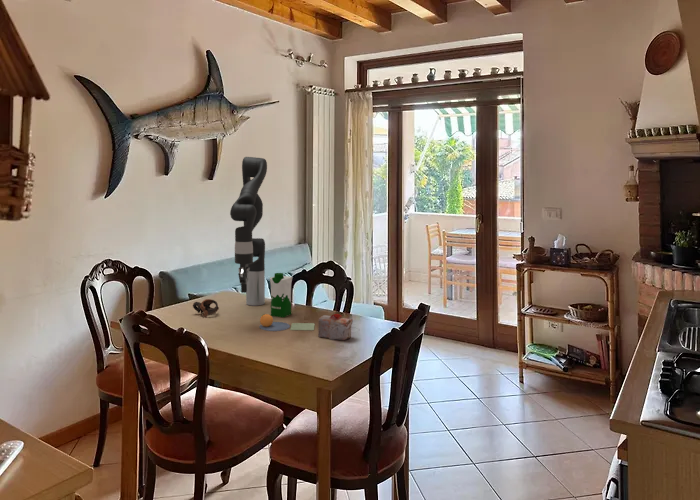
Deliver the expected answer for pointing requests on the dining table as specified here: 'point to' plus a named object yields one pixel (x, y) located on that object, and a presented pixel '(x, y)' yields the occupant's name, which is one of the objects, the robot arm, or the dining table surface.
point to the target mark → (276, 326)
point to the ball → (266, 320)
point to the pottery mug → (206, 307)
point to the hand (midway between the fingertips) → (244, 292)
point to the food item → (334, 327)
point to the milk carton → (280, 295)
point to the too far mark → (302, 326)
